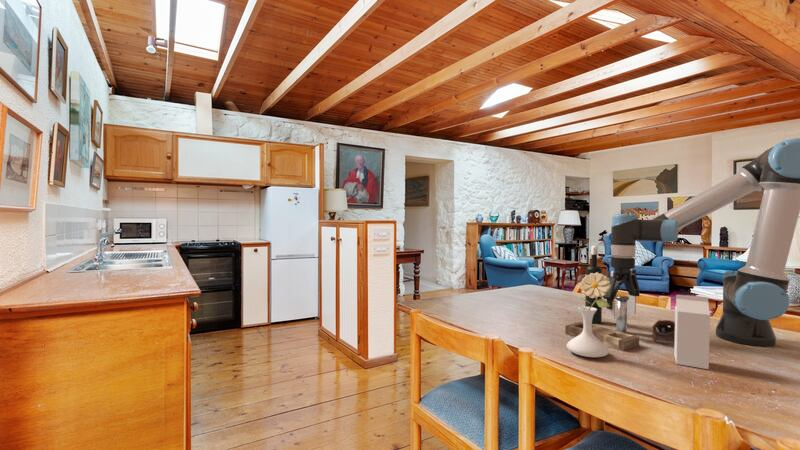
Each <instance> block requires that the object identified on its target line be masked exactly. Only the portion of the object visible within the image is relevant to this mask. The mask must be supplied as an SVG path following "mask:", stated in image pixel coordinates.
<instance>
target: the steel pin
mask: <svg viewBox="0 0 800 450" xmlns="http://www.w3.org/2000/svg"><path fill="white" fill-rule="evenodd" d="M614 299H616V327H615V328H616V330H615V331H618V332H622V333H626V334H628V332H627V331H628V313H627V300H629V297H628V296H627V295H620V294H619V295H617V294H616V296H615V298H614Z"/></svg>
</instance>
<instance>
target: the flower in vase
mask: <svg viewBox="0 0 800 450" xmlns="http://www.w3.org/2000/svg"><path fill="white" fill-rule="evenodd" d="M608 280H609V278H608V276H607V275H604V274H603V273H602V274H599V273H598V272H596V273H594V274H593V273H590V275H586V274H585V276H584V277H582V278H581V281H580V282H579V287H580V290H581V294H583V295H585V296H589V297H590V298H596V300H595V301H594V303H595V302H596V303H597V305H598V306H599V307H602V308H606V307H610V305H609V304H608V303H607V299H604V298H603V296H604V295H605V294H606V292H608V291H609V289H610V287H611V285H610V284H609V283H610V281H608ZM606 295H607V294H606ZM598 297H602V299H599V300H597V298H598ZM581 300H583V301H584V302H585V301H586V302H588V301H587V300H585V298H584V297H581ZM588 303H589V302H588ZM594 303H593V304H592V305H591V306H590V307H585V306H578V309H579V311H580V312H581V315H582V320H583V321H582V322H583V324H584V326H583V331H582V333H581V334H580V335H578V336H576V337H573V338H571V339H570V340H569V341H568V342H567V343H566V348H567V350H568V351H570V353H573V354H575V355H578V356H582V357H584V358H585V357H586V358H602V357H605V356H607V355H608V354H609V353H610V350H609V347H608V346H605V345H604V344H603V343H602V342H601V341H600V340H599V339H597V338H596V337H595V336H594V334H593V333H592V325H593V324H592V319H593V315H594V313H595V312H596V311H597V309H596V308H593V307H592V306H593V305H594Z"/></svg>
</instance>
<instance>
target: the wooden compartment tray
mask: <svg viewBox="0 0 800 450" xmlns="http://www.w3.org/2000/svg"><path fill="white" fill-rule="evenodd" d="M583 326H584V324H583V321H579V322H575V323H571V324H570V323H569V324H566V325H565V329H564V330H565V335H566V336H567V335H568V336H571V337H573V338H575V337H576V336H578V335H580V334H581V333H582V331H583ZM592 333H593V334H594V336H595V337H596V338H597V339H599V340H600V341H601V342H602V343H603V344H604V345H605V346H606V347H607V348H612V349H614V350H619V351H622V352H625V351H628V350H631V349H634V348H637V347H639V346H640V336H638V335H633V334H630V333H622V332H618V331H616V330H614V329H609V328H606V327H602V326H598V325H596V324H592Z"/></svg>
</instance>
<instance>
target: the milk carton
mask: <svg viewBox="0 0 800 450" xmlns="http://www.w3.org/2000/svg"><path fill="white" fill-rule="evenodd" d="M675 297H676V299H675V304H674V308H675V309H674V322H675V340H674V345H673V346H674V348H673V350H674V351H673V352H674V360H675V363H676V364H677V365H681V366H687V367H692V368H698V369H699V368H700V369H704V370H709V369H710V327H711V324H710V322H711V320H710V319H711V313H710V305H709V297H708V296H707V297H704V296H697V295H695V296H694V295H687V294H686V295H684V294H676V295H675Z"/></svg>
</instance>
